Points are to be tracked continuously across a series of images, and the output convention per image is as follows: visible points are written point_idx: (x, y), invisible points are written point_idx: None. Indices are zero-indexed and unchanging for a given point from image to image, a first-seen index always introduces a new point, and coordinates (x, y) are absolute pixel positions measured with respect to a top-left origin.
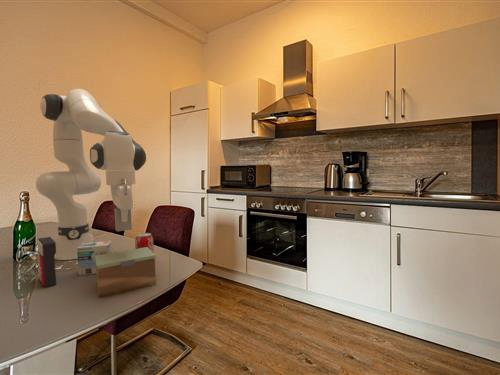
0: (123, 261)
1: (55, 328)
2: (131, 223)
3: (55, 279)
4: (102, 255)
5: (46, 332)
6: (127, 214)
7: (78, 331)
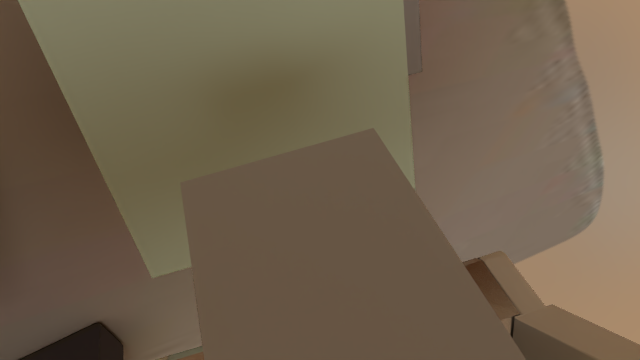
0: (420, 56)
1: (521, 174)
2: (405, 180)
3: (100, 344)
4: (170, 231)
5: (529, 189)
6: (589, 324)
7: (588, 101)
